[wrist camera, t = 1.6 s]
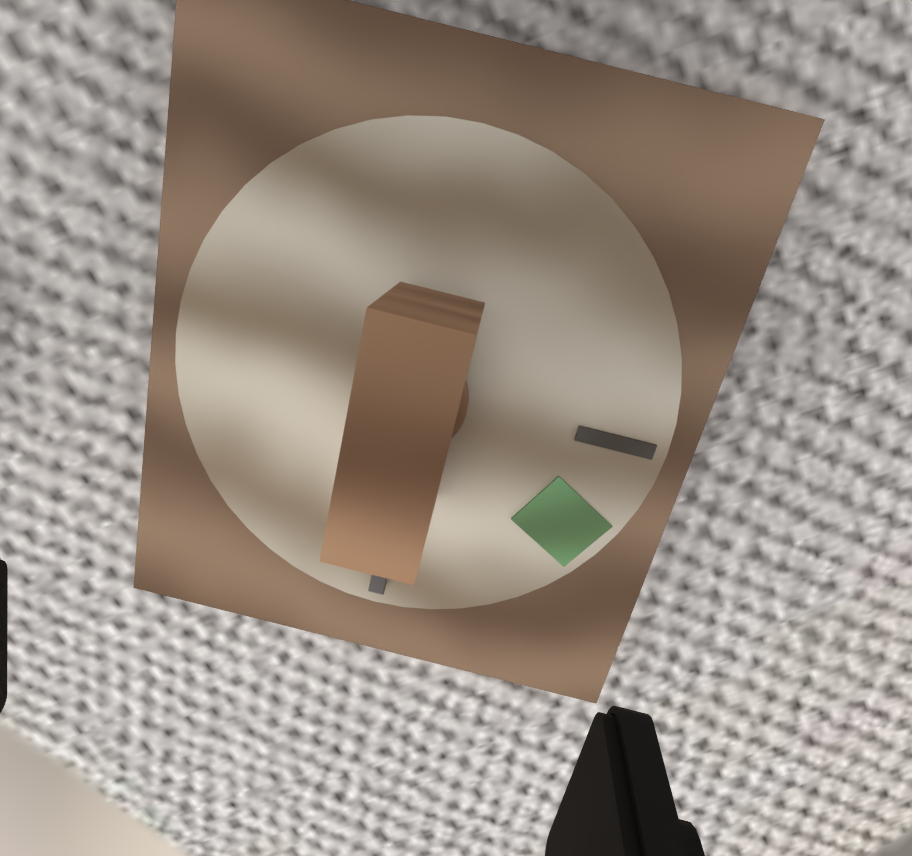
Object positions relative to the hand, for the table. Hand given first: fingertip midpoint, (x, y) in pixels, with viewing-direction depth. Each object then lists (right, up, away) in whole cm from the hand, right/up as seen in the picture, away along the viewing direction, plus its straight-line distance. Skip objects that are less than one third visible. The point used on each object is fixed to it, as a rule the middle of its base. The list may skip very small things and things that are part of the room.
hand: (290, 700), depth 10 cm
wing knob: (+1, +3, +15) cm, 16 cm away
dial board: (+1, +6, +16) cm, 17 cm away
